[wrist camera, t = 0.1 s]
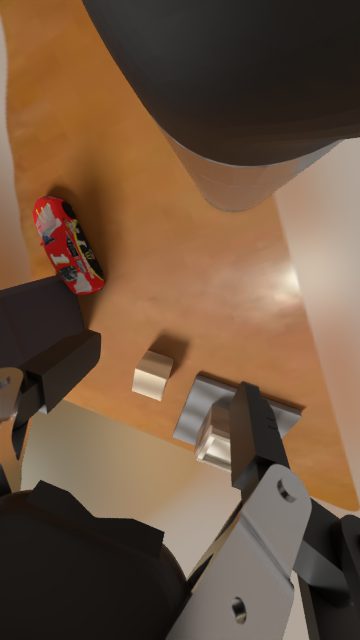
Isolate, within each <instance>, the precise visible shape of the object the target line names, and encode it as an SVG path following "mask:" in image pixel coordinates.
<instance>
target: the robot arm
mask: <svg viewBox="0 0 360 640" xmlns="http://www.w3.org/2000/svg"><path fill="white" fill-rule="evenodd" d="M82 2H83V4H84V6H85V8H86V10H87V12H88V14H89V16H90V18H91V20H92V22H93V24H94V26H95V28H96V29H97V31H98V33H99V35H100V37H101V38H102V40H103V42H104V44H105V46H106V48H107V49H108V51H109V52H110V54H111V56H112V57H113V59H114V61H115V62H116V64H117V65H118V67H119V69H120V70H121V72H122V73H123V75H124V76H125V78H126V79H127V81H128V82H129V84H130V85H131V87H132V88H133V90H134V91H135V93H136V95H137V96H138V98H139V99H140V101H141V102H142V104H143V105H144V107H145V108H146V109H147V111H148V112H149V114H150V115H151V117H152V118H153V120H154V121H155V123H156V124H157V126H158V127H159V129H160V130H161V132H162V133H163V135H164V136H165V138H166V139H167V141H168V142H169V144H170V145H171V147H172V148H173V150H174V152H175V153H176V155H177V156H178V158H179V159H180V161H181V162H182V164H183V165H184V167H185V169H186V170H187V172H188V173H189V175H190V176H191V178H192V179H193V181H194V182H195V184H196V186H197V187H198V189H199V190H200V192H201V193H202V195H203V196H204V197H205V199H206V200H207V201H208V202H209V203H210V204H212V205H213V206H214V207H216V208H218V209H220V210H223V211H228V212H239V211H244V210H247V209H250V208H252V207H254V206H255V205H257V204H259V203H260V202H262V201H263V200H264V199H266V198H267V197H269V196H270V195H271V194H273V193H274V192H275V191H277V190H278V189H279V188H281V187H282V186H283V185H285V184H286V183H287V182H289V181H290V180H291V179H293V178H294V177H296V176H297V175H298V174H299V173H301V172H302V171H304V170H305V169H306V168H308V167H309V166H310V165H312V164H313V163H314V162H316V161H317V160H318V159H320V158H321V157H322V156H324V155H325V154H326V153H328V152H329V151H330V150H331V149H333V148H334V147H335V146H337V145H338V144H339V143H340V142H342V141H343V140H345V139H350V138H357V137H360V0H82ZM100 353H101V334H100V333H98V332H95V331H92V330H89V329H85V330H84V331H82V332H81V333H79V334H78V335H71V336H68V337H65V338H63V339H61V340H60V341H58V342H56V343H55V344H54V345H52V346H50V347H48V349H45V350H44V351H42V352H41V353H39V354H37V355H36V356H34V357H33V358H31V359H30V360H28V361H26V362H25V363H23V364H22V365H20V366H18V367H17V368H13V367H5V368H0V640H282V639H283V636H284V632H285V629H286V625H287V622H288V618H289V615H290V612H291V608H292V604H293V600H294V586H293V584H292V583H291V582H290V576H291V571H292V570H294V571H295V572H296V573H297V575H298V581H299V587H300V592H301V597H302V602H303V608H304V613H305V619H306V624H307V629H308V635H309V640H360V518H358V517H356V516H354V515H345V516H344V517H342V518H341V519H339V518H338V517H336V516H335V515H334V514H332V513H331V512H330V511H328V510H327V509H325V508H324V507H323V506H321V505H320V504H318V503H317V502H316V501H314V500H313V499H312V498H311V497H310V496H309V493H308V491H307V489H306V487H305V486H304V484H303V483H302V481H301V480H300V479H299V478H298V476H297V475H296V474H295V473H293V472H292V471H291V469H290V467H289V463H288V460H287V456H286V453H285V449H284V446H283V443H282V439H281V436H280V432H279V431H278V430H279V429H278V425H277V423H276V419H275V415H274V412H273V409H272V408H271V406H270V405H269V403H268V402H267V400H265V399H262V398H261V395H260V391H259V387H258V386H256V385H253V384H250V383H247V382H244V381H243V382H241V384H240V386H239V388H238V390H237V391H236V393H235V395H234V397H233V399H232V401H231V404H230V408H229V426H230V454H231V481H232V487H234V488H237V489H239V490H241V498H242V500H241V501H240V502H239V503H238V505H237V506H236V508H235V509H234V511H233V512H232V514H231V515H230V517H229V519H228V520H227V521H226V523H225V524H224V526H223V527H222V529H221V530H220V532H219V533H218V535H217V536H216V538H215V539H214V541H213V542H212V544H211V545H210V547H209V548H208V549H207V551H206V552H205V553H204V555H203V556H202V557H201V559H200V560H199V562H198V563H197V564H196V566H195V567H194V569H193V570H192V572H191V573H190V575H189V576H188V578H187V579H186V577H185V575H184V573H183V571H182V569H181V567H180V565H179V563H178V562H177V560H176V559H175V557H174V555H173V554H172V553H171V552H170V550H169V549H168V548H167V547H166V546H165V545H164V544H163V543H162V542H163V537H164V532H163V531H161V530H158V529H156V528H154V527H151V526H149V525H147V524H144V523H142V522H139V521H137V520H134V519H126V518H96V517H94V516H93V515H92V514H91V513H90V512H89V511H87V510H86V508H85V507H84V506H83V505H82V504H81V503H80V502H79V501H78V500H76V498H75V497H74V496H73V495H72V494H71V493H69V492H68V491H66V490H63V489H61V488H58V487H56V486H54V485H51V484H49V483H46V482H44V481H42V480H40V481H39V483H38V484H37V485H36V487H35V488H34V489H33V490H25V491H20V489H21V480H22V474H21V473H22V462H23V458H24V454H25V449H26V445H27V440H28V436H29V431H30V426H31V422H32V416H33V415H34V414H35V413H36V412H37V411H39V412H42V413H45V414H48V413H49V412H50V411H51V410H52V409H53V408H54V407H55V406H56V405H57V404H58V403H59V402H60V401H61V400H62V399H63V398H64V397H65V396H66V395H67V394H68V393H69V392H70V391H71V390H72V389H73V388H74V387H75V386H76V385H77V384H78V383H79V382H80V381H81V380H82V379H83V378H84V377H85V376H86V375H87V374H88V373H89V372H90V371H91V370H92V369H93V368H94V367H95V366H96V364H97V363H98V361H99V359H100Z"/></svg>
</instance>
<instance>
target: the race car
mask: <svg viewBox="0 0 360 640" xmlns="http://www.w3.org/2000/svg"><path fill="white" fill-rule="evenodd" d="M65 202H66V201H64V200H62V199H60V198H57V197H52V196H44V197H42V198H40V199H38V200H37V201H36V203H35V206H34V210H33V218H34V222H35V224H36V226H37V229H38V231H39V233H40V235H41V238H42V243H41V244H40V246H42V245H43V246H44V249H45V251H46V253H47V255H48V257H49V259H50V261H51V263H52V264H53V266H54V268H55V269H56V271H57V272H58V274H59V275H60V277H61V278H62V279H63V280H64V282H65V283H66V284H67V286H68V287H69V288H70V290H71V291H72V292H73V293H74V294H76V295H89V294H92V293H95V292H97V291H98V290H101V289H102V288H103V286H104V277H103V275H101V274H102V270H101V268H100V266H99V264H98V263H97V262H94V261H96V259H95V256H94V254H93V252H92V250H91V248H90V246H89V244H88V242H87V240H86V238H85V236H84V234H83V232H82V230H81V228H80V225H79V223H78V221H77V220H76V219H74V218H75V214H74V213H73V211H72V209H71V206H70V205H69V204H67V203H65ZM92 262H93V263H92ZM99 275H101V276H99Z"/></svg>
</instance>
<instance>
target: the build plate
mask: <svg viewBox="0 0 360 640" xmlns="http://www.w3.org/2000/svg"><path fill="white" fill-rule="evenodd" d="M237 390H238V389H237V388H235V387H232V386H229V385H226V384H223V383H220V382H217V381H215V380H212V379H209V378H206V377H203V376H200V375H196V377H195V380H194V382H193V385H192V387H191V390H190V392H189V395H188V398H187V400H186V403H185V405H184V408H183V410H182V413H181V415H180V418H179V420H178V423H177V425H176V428H175V430H174V433H173V437H174V438H176V439H179V440H182V441H184V442H187V443H190V444H192V445H195V453H194V454H195V455H197V458H196V460H198V461H200V462H203V463H205V464H208V465H211V466H214V467H216V468H219V469H221V470H224V471H226V472H229V473H231V454H230V426H229V408H230V404H231V401H232V399H233V397H234V395H235V393H236V391H237ZM261 398H262V399H265V400H267V402H268V403H269V405H270V406H271V408H272V409H273V412H274V415H275V419H276V423H277V425H278V429H279V430H278V431H279V432H280V436H281V439H282V438H283V436H284V435H285V434H286V433H287V432H288V431H289V430H290V429H291V428H292V427H293V426H294V425H295V424H296V422H297V421H298V420H299V419H300V418H301V417H302V415H301V413H300V410H297V409H295V408H292V407H289V406H286V405H283V404H280V403H277V402H275V401H272V400H269V399H266V398H263V397H261Z"/></svg>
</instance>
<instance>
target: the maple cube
mask: <svg viewBox="0 0 360 640" xmlns="http://www.w3.org/2000/svg"><path fill="white" fill-rule="evenodd" d="M173 363H174V359H172V358H169V357H166V356H163V355H161V354H158V353H155V352H152V351H149V350H147V352H146V353H145V355H144V356H143V358H142V359H141V361H140V363H139V364H138V366H137V367H136V369H135V375H134V381H133V387H132V391H135V392H138V393H140V394H143V395H146V396H148V397H151V398H154V399H157V400H159V401H160V400H161V398H162V395H163V392H164V390H165V387H166V384H167V382H168V379H169V376H170V372H171V369H172V366H173Z"/></svg>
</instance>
